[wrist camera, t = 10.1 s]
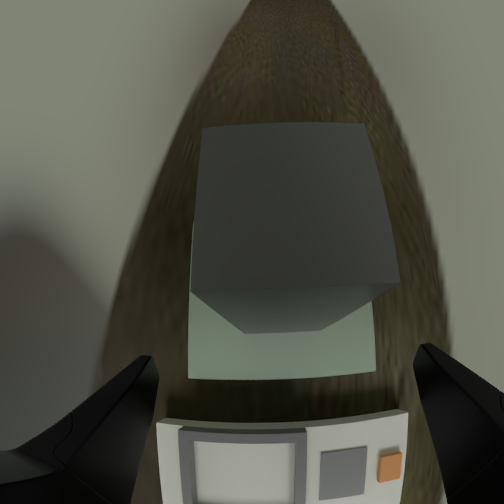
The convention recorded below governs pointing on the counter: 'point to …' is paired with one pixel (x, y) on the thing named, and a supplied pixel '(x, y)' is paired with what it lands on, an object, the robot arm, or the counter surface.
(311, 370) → the rubber mat
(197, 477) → the power strip
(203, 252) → the brick
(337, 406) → the counter surface
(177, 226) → the counter surface
